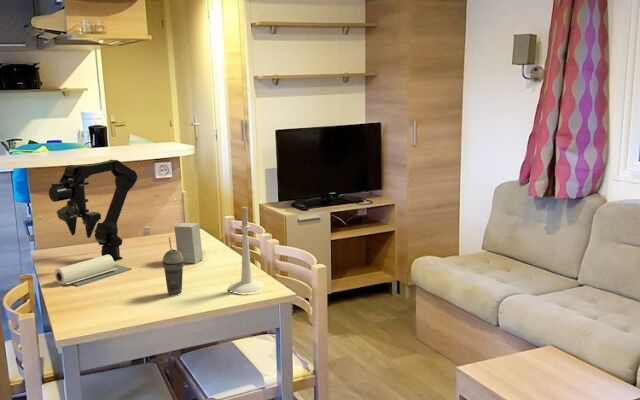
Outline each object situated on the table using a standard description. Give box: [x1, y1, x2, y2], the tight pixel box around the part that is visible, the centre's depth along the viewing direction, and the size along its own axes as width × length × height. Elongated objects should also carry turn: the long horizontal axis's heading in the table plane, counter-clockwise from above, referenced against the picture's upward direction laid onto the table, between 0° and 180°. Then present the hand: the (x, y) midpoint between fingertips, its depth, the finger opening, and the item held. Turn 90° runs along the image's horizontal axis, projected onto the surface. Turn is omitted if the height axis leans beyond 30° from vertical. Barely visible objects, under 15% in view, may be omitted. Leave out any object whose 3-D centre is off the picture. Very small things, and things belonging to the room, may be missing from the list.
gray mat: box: [68, 263, 133, 287], centre depth 227 cm, size 24×11×1 cm, turn 147°
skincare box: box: [173, 222, 204, 264], centre depth 243 cm, size 8×7×16 cm
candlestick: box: [228, 205, 265, 293], centre depth 207 cm, size 13×13×30 cm
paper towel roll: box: [54, 255, 117, 286], centre depth 224 cm, size 7×6×21 cm
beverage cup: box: [162, 236, 185, 296], centre depth 204 cm, size 7×7×20 cm
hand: (81, 236), depth 234 cm, fingers open, 9 cm apart
